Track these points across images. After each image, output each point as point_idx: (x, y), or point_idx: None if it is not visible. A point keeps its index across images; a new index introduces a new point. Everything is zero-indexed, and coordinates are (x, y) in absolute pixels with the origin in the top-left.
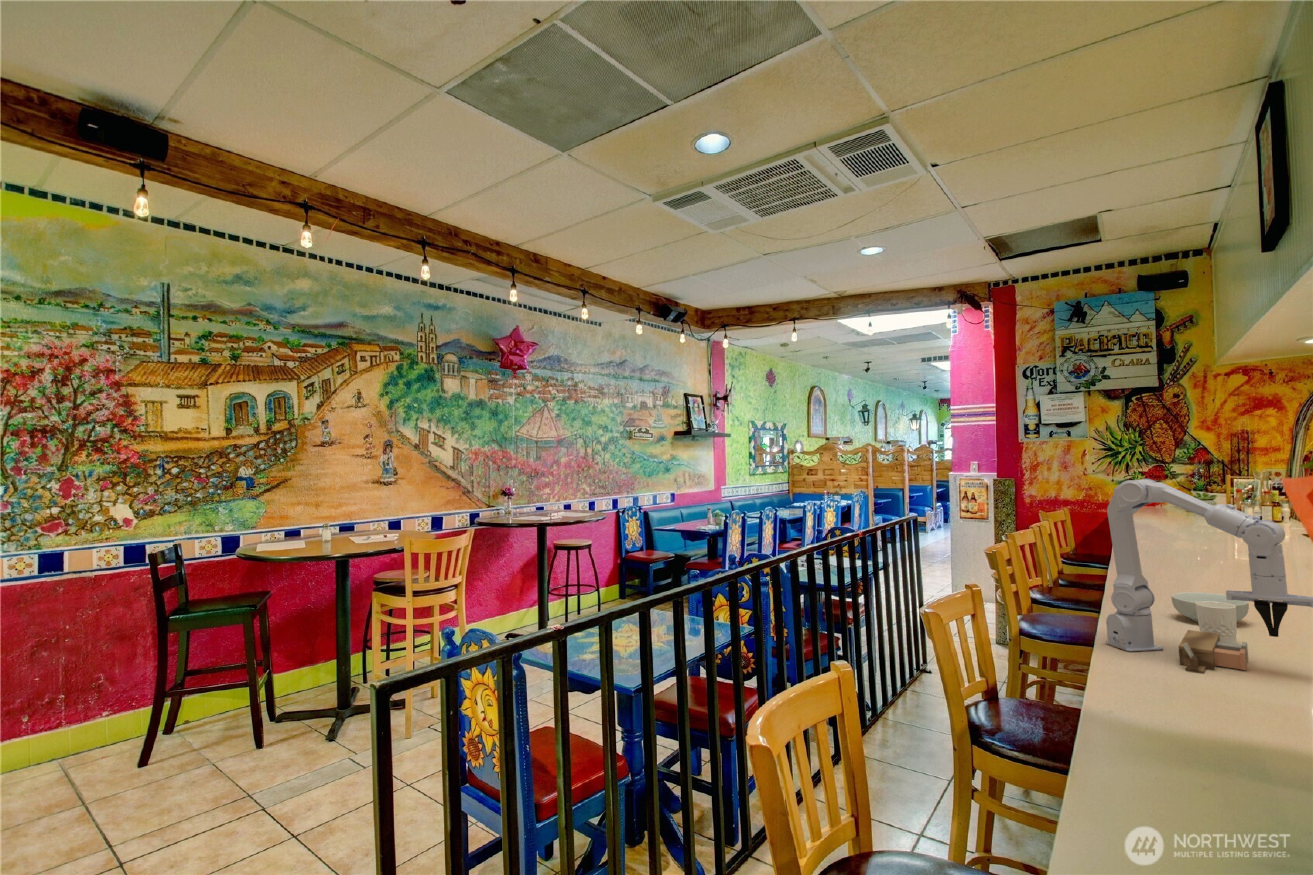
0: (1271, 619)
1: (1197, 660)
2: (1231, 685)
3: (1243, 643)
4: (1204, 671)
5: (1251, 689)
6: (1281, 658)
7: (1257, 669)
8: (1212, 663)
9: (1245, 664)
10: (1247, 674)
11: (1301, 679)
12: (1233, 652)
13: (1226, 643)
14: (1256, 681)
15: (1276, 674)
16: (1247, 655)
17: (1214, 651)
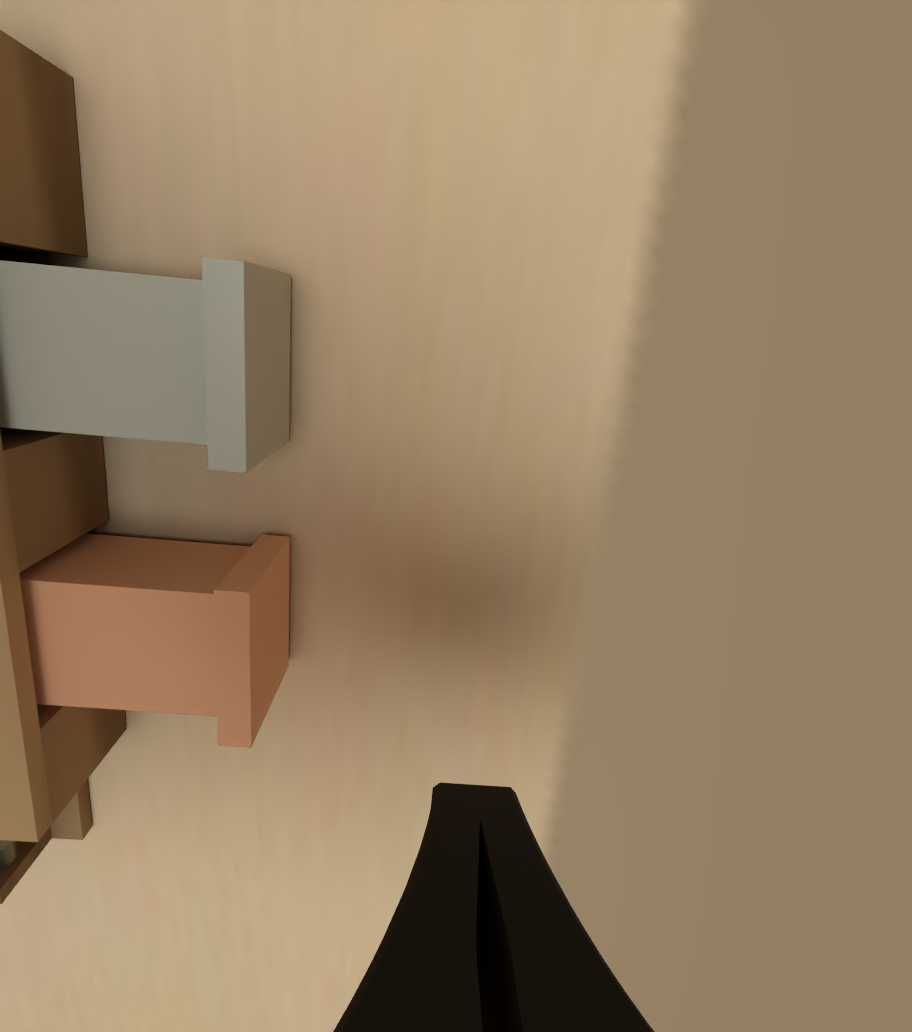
0: (475, 950)
1: (6, 848)
2: (241, 953)
3: (217, 345)
4: (86, 802)
5: (325, 968)
6: (531, 49)
7: (351, 558)
8: (95, 762)
9: (278, 672)
10: (300, 713)
11: (570, 662)
12: (177, 655)
13: (76, 314)
14: (346, 828)
15: (451, 623)
16: (277, 372)
17: (50, 697)
